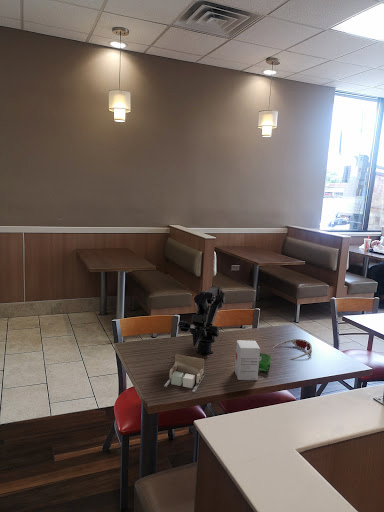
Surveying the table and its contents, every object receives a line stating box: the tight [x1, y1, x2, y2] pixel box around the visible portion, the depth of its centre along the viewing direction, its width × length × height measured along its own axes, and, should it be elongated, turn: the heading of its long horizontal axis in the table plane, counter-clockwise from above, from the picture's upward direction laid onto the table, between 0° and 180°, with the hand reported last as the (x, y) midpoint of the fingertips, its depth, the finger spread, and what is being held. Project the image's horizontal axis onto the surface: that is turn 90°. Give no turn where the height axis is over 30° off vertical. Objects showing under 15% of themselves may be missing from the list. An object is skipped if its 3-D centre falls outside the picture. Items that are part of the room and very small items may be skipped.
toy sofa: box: [168, 353, 205, 384], centre depth 172 cm, size 8×14×8 cm, turn 73°
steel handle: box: [163, 371, 205, 393], centre depth 170 cm, size 16×13×1 cm
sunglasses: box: [272, 338, 313, 361], centre depth 207 cm, size 17×17×5 cm
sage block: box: [170, 372, 185, 387], centre depth 168 cm, size 4×4×4 cm
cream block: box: [182, 373, 196, 389], centre depth 167 cm, size 4×4×4 cm
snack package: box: [258, 352, 272, 372], centre depth 187 cm, size 7×16×5 cm, turn 166°
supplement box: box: [234, 339, 261, 381], centre depth 177 cm, size 9×9×15 cm
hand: (194, 345), depth 180 cm, fingers closed
